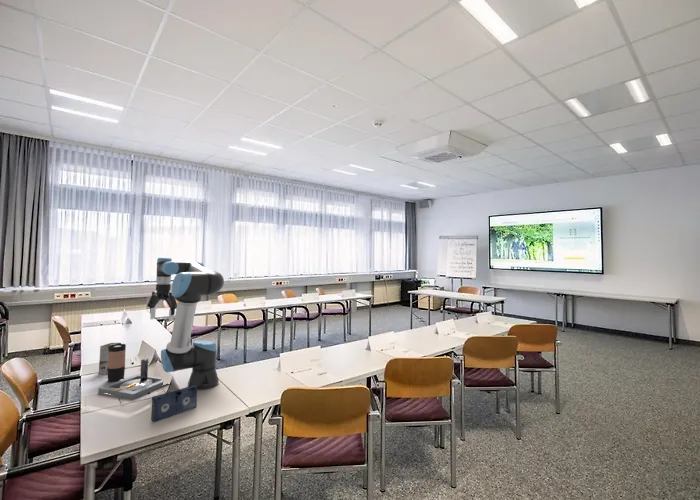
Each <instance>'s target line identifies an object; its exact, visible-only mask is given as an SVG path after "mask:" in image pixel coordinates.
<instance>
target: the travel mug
mask: <svg viewBox="0 0 700 500" xmlns="http://www.w3.org/2000/svg"><path fill="white" fill-rule="evenodd" d="M126 347H127V345H126V344H125V343H121V344H115V345H111V346H109V356H108V374H107V382H108V383H115V382H117V381H119V380H121V379H125V370H126V349H127V348H126Z"/></svg>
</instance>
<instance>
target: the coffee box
mask: <svg viewBox="0 0 700 500" xmlns="http://www.w3.org/2000/svg"><path fill="white" fill-rule="evenodd" d="M115 344H122V342H110V343H109V342H108V343H106V344H103V345H100V346H99V348H100V349H99V360H98V361H99V362H98V363H99V364H98V374H100V375H108V356H109V346H111V345H115Z"/></svg>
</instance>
